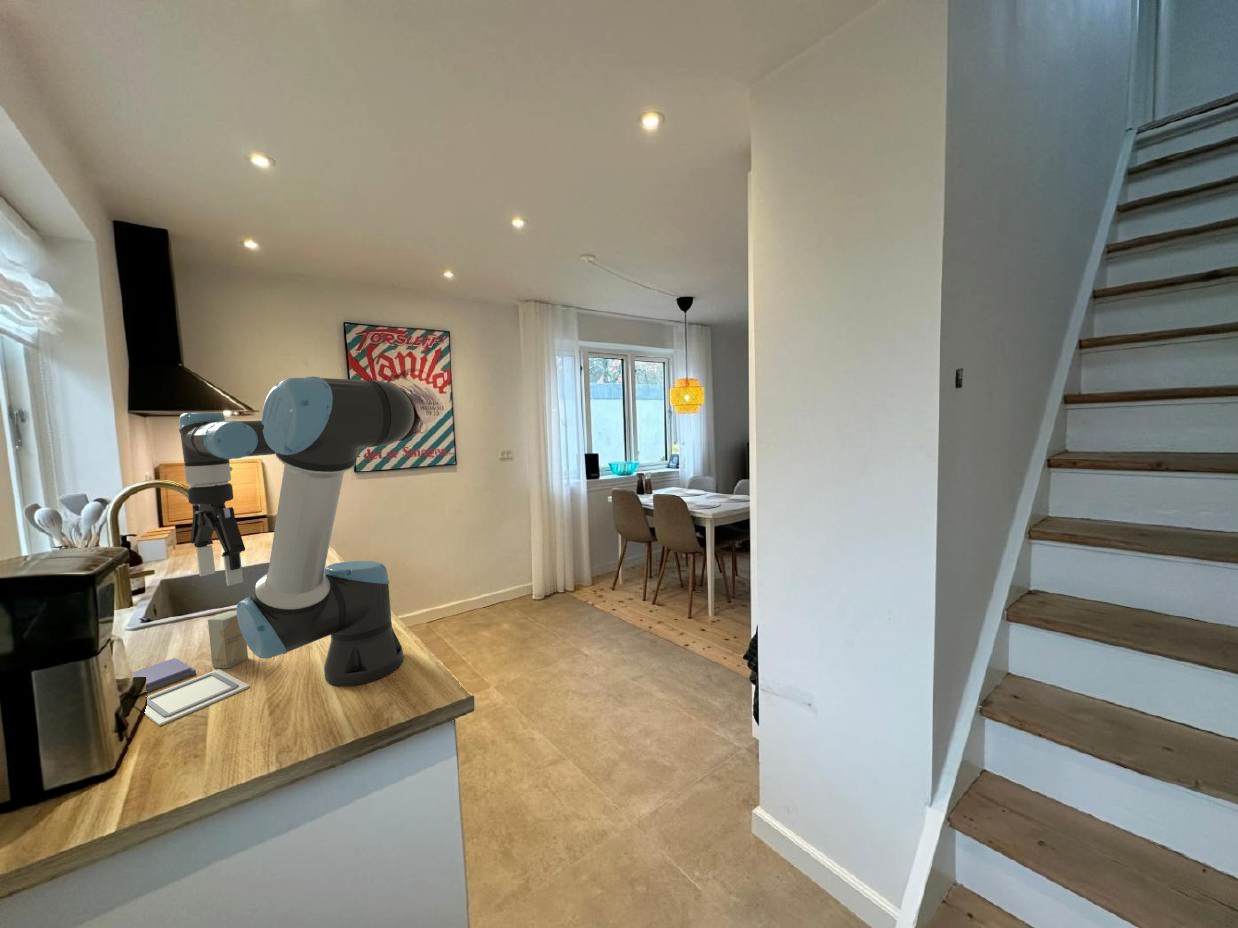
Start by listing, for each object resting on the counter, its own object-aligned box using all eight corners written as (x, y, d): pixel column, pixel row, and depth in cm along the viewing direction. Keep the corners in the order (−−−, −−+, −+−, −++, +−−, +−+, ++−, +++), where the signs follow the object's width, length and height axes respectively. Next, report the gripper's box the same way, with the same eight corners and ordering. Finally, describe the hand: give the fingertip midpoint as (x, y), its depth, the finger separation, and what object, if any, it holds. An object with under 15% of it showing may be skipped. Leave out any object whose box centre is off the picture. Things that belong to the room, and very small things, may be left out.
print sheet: (249, 687, 99) (249, 683, 99) (159, 725, 87) (158, 722, 87) (218, 670, 107) (218, 667, 106) (131, 704, 95) (131, 701, 95)
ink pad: (195, 673, 106) (195, 666, 105) (133, 697, 97) (132, 689, 97) (177, 663, 111) (176, 656, 110) (116, 684, 102) (115, 677, 102)
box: (227, 669, 107) (221, 620, 106) (211, 667, 108) (205, 619, 107) (249, 657, 112) (244, 611, 111) (234, 656, 113) (229, 610, 112)
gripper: (257, 484, 103) (267, 582, 105) (206, 479, 116) (216, 566, 118) (214, 490, 96) (226, 593, 99) (164, 483, 109) (176, 575, 111)
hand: (220, 579), depth 108 cm, fingers open, 13 cm apart
